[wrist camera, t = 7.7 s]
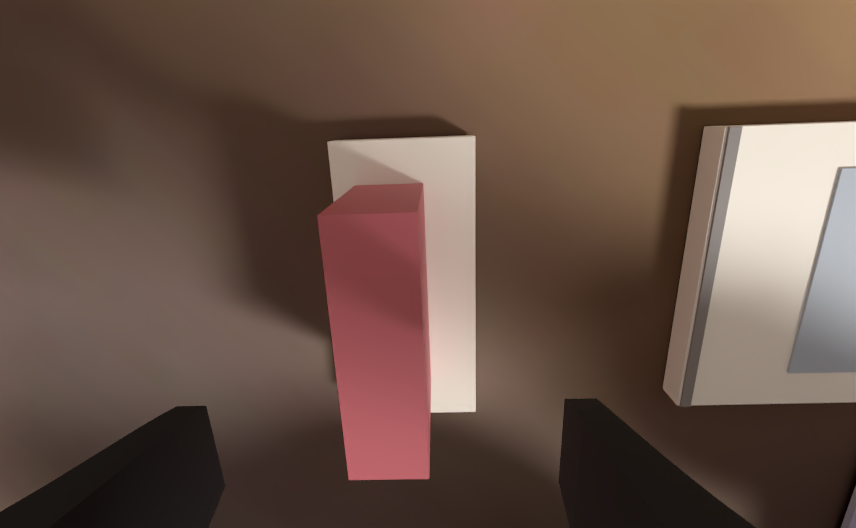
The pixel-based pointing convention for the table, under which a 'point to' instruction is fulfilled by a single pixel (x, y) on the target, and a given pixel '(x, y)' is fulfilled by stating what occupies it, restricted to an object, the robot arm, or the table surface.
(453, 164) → the stub
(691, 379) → the white flat slab
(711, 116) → the table surface
